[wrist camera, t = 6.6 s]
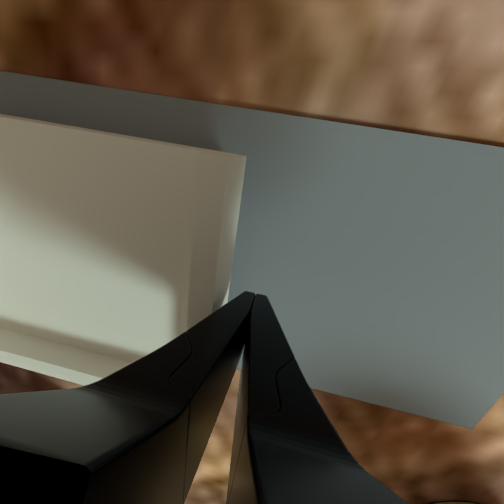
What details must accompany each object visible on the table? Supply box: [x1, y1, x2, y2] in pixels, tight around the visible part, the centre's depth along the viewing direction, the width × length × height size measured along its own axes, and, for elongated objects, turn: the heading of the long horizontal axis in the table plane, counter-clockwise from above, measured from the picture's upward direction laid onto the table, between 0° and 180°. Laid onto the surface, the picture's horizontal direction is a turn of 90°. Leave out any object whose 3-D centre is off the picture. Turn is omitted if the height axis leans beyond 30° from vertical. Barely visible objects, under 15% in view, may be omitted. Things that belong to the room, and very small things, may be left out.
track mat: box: [0, 71, 504, 429], centre depth 12 cm, size 13×29×1 cm, turn 81°
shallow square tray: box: [0, 114, 247, 386], centre depth 10 cm, size 10×12×4 cm
